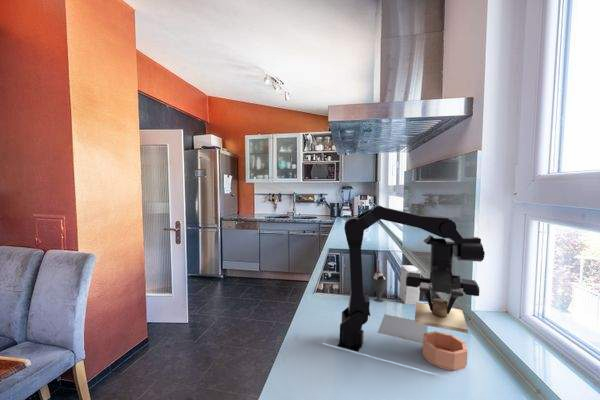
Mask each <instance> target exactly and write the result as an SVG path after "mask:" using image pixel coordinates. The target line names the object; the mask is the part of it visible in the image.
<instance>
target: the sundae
mask: <svg viewBox="0 0 600 400" xmlns="http://www.w3.org/2000/svg"><path fill="white" fill-rule="evenodd" d="M370 278H371V280H372V284H373V290H374V292H375V293H376V294H377V295H376V298H374V299H373V301H374V302H376V303H383V302H384V300H383V299H382V298H381V294H382V293H383V292H384V290H385V285H386V281H387V280H388V278H387V277H385V276H384V274H383V273H382V272H381V270H380V269H379V268H377V269H376V272H375V273H374V275H371V276H370Z"/></svg>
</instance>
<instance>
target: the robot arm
mask: <svg viewBox="0 0 600 400" xmlns="http://www.w3.org/2000/svg"><path fill="white" fill-rule="evenodd" d="M381 220H383V221H387V222H390V223H391V222H392V223H395V224H400V225H405V226H409V227H413V228H418V229H420V230H423V231H425V232H427V233H430V234H433V235H434V236H437V237H438V238H437V237H434V236H433V235H429V236H427V237H426V238H425V239H424V240H423V242H424V243H425V244H426V245H429V246H430V263H429V265H430V266H429V267H430V268H429V277H423V276H422V273H421V274H419V273H411V272H409V273H407V276H406V286H410V287H419V286H420V287H419V290H420V291H421V292H423V293H424V295H425V297H426V301H427V304H429V307H430V310H431V311H432V291H433V293H443V294H446V295H448V299H447V314H449V312H450V310H451V308H453V307H454V304H455V302H456V300H457V299H458V298H459V297H464V294H465V295H467V296H472V297H473V296H474V297H479V296H480V286H479V284H478V282H476V280H473V279H466V278H465V279H464V278H461V275H453V257H454V258H456V259H457V260H458V261H460V262H477V263H479V262H480V263H481V262H483V261H484V259H485V255H486V254H485V253H486V252H485V250H484V246H483V244H482V239H481V238H480V237H476V236H472V237H464V236H462V235H461V234H460V232H458V230H457V224H456V222H455V221H454V220H453V219H452V218H449V217H446V216H443V215H431V214H430V215H429V214H428V215H427V214H426V215H425V214H424V215H423V214H416V213H412V212H406V211H402V210H400V209H399V210H397V209H393V208H389V207H385V206H382V205H377V204H376V205H374V206H373V207H371V208H369V209H368V210H367V211H364V212H362V213H361V214H359V215H357V216H350V217H348V218H347V219H346V220H345V221H344V233H345V238H346V242H347V246H348V250H349V251H348V253H349V275H350V294H349V300H348V306H347V307H346V308H345V309H343V310H342V311H341V322H340V324H339V341H338V343H337V347H340V348H344V349H348V350H351V351H355V352H359V351H360V349H361V348H362V347H363V345H364V335H365V334H364V333H365V331H364V329H363V325H365V324H366V323H368V320H369V317H371V312H370V306H371V305H370V303H371V302H370V297H369V296H370V295H369V294H364V285H363V283H364V282H363V264H362V246H363V240H364V234H365V230H367V229H369V228H370V227H372V226H373V225H374V224H376V223H377V222H378V221H381ZM439 237H440V238H439ZM446 239H449V240H450V241H447V240H446ZM420 275H421V277H420ZM431 290H432V291H431Z"/></svg>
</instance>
